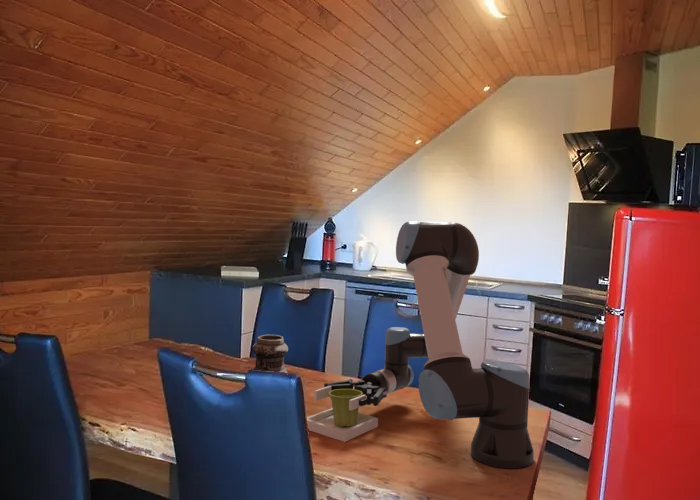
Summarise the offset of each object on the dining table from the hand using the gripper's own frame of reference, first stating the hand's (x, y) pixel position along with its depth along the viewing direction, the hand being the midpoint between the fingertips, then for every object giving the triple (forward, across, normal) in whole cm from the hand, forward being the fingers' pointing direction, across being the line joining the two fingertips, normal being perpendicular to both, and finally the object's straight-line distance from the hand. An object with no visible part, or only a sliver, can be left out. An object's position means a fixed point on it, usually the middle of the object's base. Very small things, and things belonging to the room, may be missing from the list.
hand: (332, 400), depth 158 cm
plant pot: (-4, -2, -8) cm, 9 cm away
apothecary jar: (-15, +40, -9) cm, 43 cm away
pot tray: (-4, 0, -8) cm, 9 cm away
